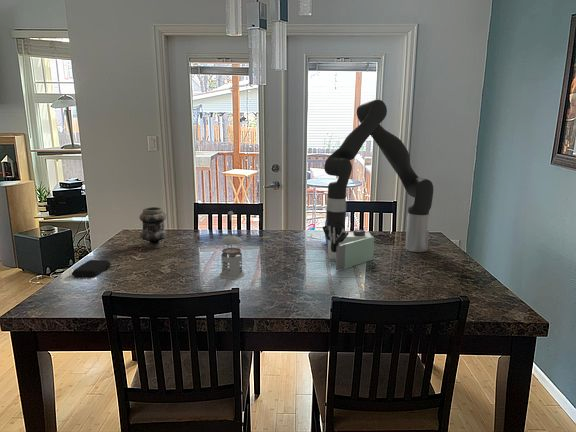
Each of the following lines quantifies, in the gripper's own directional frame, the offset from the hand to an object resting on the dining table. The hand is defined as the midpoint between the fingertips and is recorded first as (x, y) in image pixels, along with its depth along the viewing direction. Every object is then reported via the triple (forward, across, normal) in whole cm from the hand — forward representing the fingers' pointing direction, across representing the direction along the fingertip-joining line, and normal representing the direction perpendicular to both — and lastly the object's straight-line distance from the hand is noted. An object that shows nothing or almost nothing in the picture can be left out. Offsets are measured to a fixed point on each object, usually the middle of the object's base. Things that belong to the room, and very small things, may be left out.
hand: (334, 251), depth 169 cm
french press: (+8, +19, +36) cm, 42 cm away
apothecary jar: (+8, +73, +46) cm, 87 cm away
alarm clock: (+7, +25, -23) cm, 35 cm away
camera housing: (+7, +7, -16) cm, 19 cm away
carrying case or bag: (+9, +54, +78) cm, 95 cm away
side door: (+7, -3, -10) cm, 12 cm away
